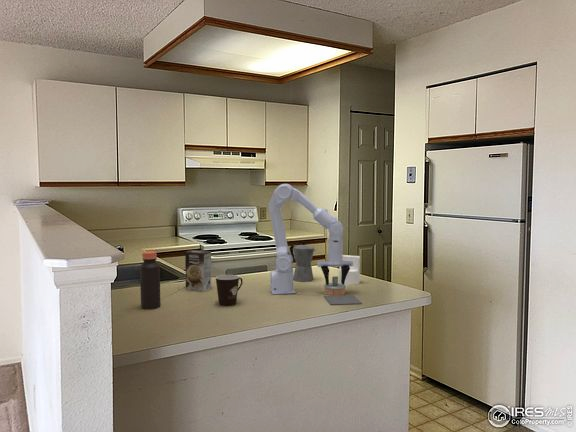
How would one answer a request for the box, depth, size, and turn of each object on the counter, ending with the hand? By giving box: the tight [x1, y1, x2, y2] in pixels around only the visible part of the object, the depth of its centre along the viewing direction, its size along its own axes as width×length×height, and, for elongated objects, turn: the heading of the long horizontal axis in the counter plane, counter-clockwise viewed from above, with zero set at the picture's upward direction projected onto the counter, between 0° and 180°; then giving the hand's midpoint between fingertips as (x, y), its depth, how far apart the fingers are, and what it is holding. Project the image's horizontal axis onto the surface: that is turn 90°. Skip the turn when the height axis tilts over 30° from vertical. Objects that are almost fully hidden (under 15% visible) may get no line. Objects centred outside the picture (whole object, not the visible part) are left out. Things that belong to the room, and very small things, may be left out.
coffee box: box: [184, 249, 212, 293], centre depth 191 cm, size 9×6×16 cm
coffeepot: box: [289, 240, 316, 283], centre depth 210 cm, size 15×9×18 cm, turn 44°
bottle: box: [139, 250, 162, 310], centre depth 165 cm, size 7×7×20 cm
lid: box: [324, 276, 346, 290], centre depth 186 cm, size 8×8×4 cm
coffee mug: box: [215, 274, 243, 307], centre depth 170 cm, size 12×9×10 cm
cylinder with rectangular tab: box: [338, 254, 361, 286], centre depth 204 cm, size 9×9×12 cm
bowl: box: [324, 287, 346, 296], centre depth 186 cm, size 8×8×2 cm
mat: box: [323, 294, 363, 306], centre depth 175 cm, size 12×12×1 cm
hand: (335, 284), depth 186 cm, fingers open, 6 cm apart
